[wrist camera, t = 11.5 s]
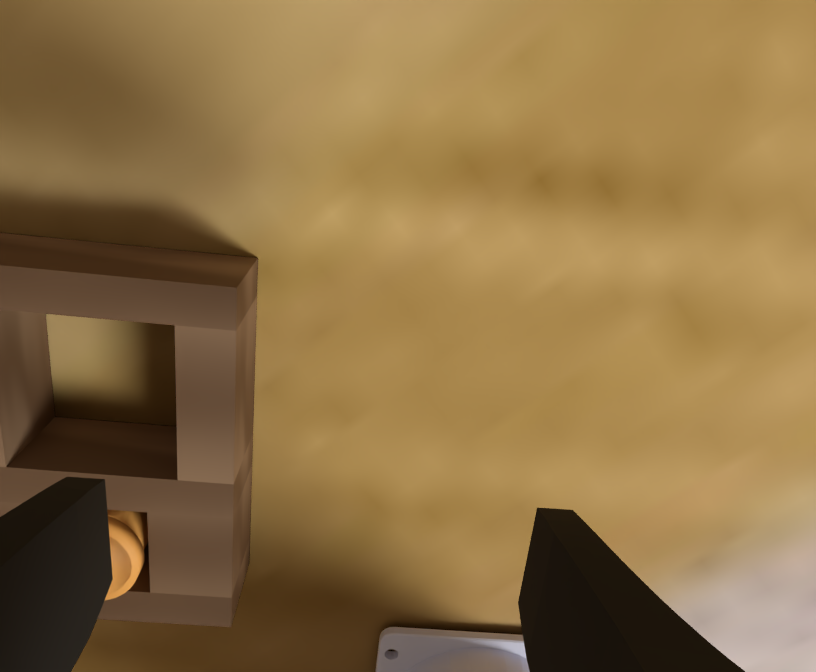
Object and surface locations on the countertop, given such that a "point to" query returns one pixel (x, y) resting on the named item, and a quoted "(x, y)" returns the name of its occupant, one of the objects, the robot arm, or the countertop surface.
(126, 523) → the pin
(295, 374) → the countertop surface
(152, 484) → the socket block
